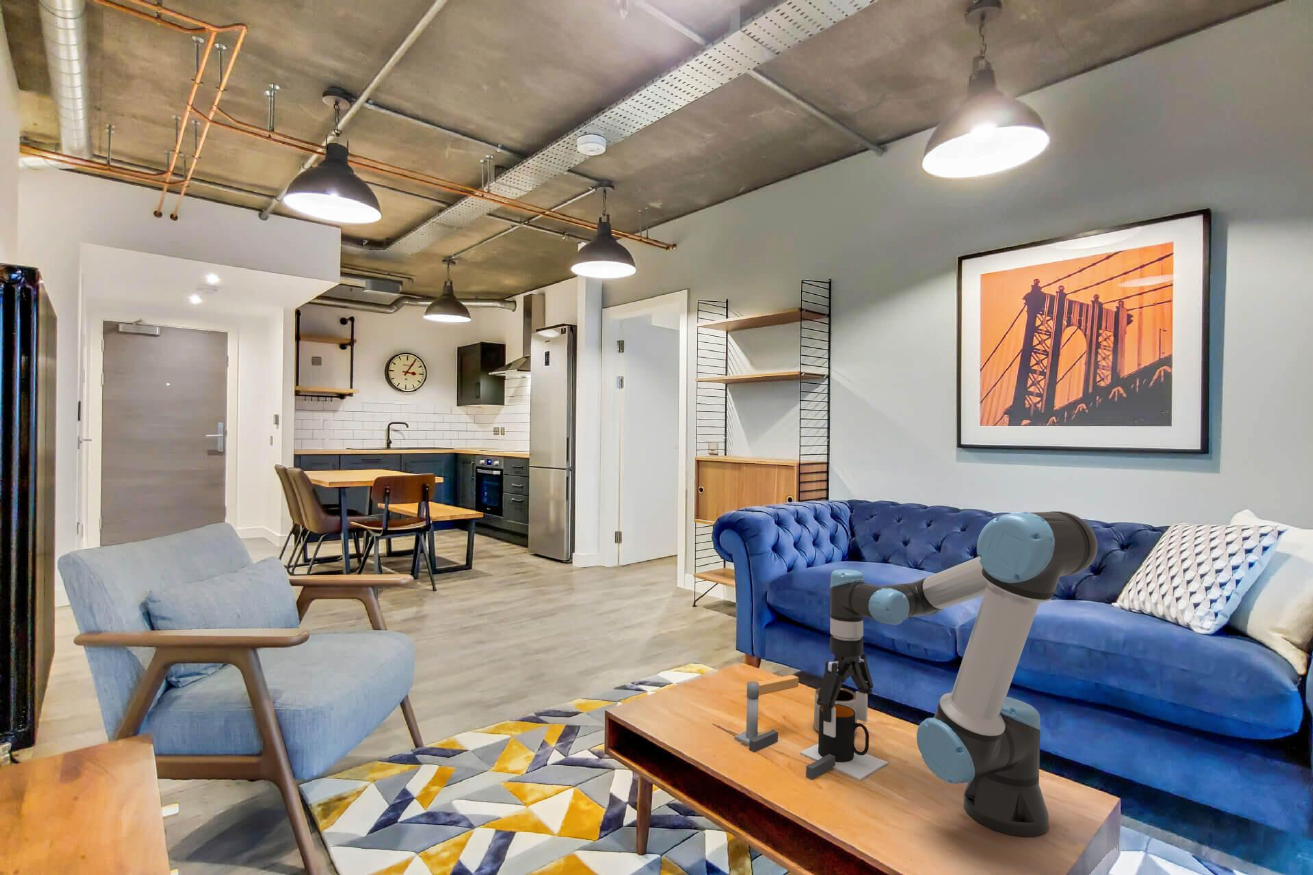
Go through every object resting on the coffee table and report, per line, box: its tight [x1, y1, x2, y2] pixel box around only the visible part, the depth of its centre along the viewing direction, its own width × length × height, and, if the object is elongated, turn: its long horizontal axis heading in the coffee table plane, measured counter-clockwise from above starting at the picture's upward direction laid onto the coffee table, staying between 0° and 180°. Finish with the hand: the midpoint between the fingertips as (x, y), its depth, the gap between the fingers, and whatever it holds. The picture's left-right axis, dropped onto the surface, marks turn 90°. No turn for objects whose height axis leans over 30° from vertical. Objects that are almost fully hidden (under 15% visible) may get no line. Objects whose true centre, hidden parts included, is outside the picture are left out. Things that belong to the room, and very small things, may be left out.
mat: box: [799, 743, 889, 781], centre depth 154 cm, size 16×12×1 cm
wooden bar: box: [746, 674, 800, 699], centre depth 166 cm, size 16×3×3 cm, turn 120°
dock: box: [734, 695, 835, 780], centre depth 156 cm, size 24×9×11 cm, turn 42°
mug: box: [817, 704, 870, 762], centre depth 154 cm, size 8×12×10 cm
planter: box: [813, 687, 858, 736], centre depth 170 cm, size 11×11×10 cm
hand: (845, 727), depth 154 cm, fingers open, 13 cm apart
